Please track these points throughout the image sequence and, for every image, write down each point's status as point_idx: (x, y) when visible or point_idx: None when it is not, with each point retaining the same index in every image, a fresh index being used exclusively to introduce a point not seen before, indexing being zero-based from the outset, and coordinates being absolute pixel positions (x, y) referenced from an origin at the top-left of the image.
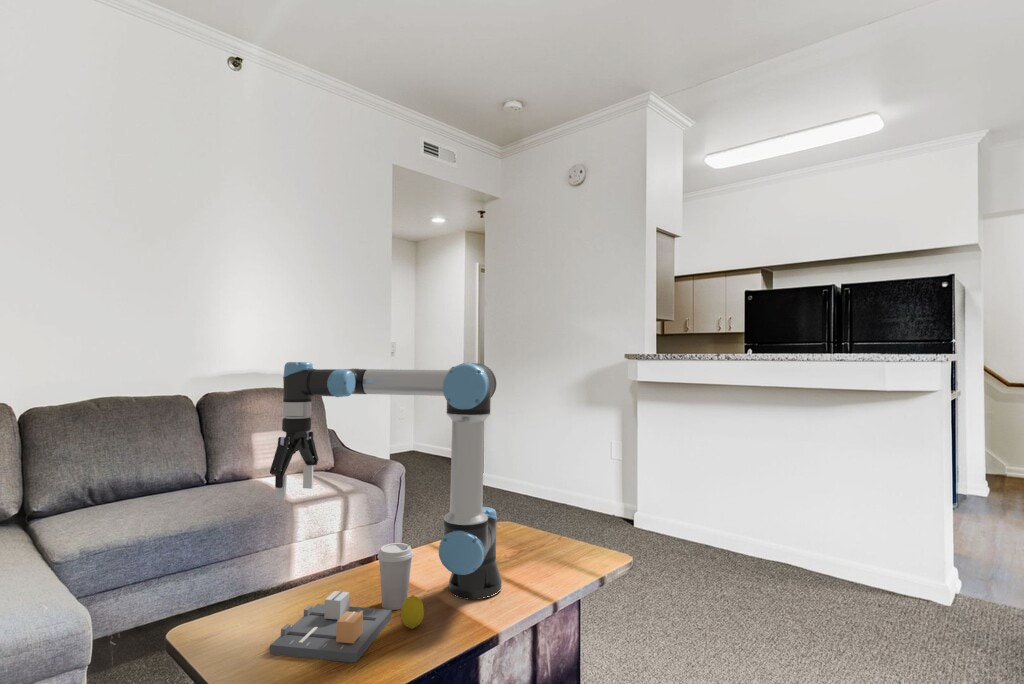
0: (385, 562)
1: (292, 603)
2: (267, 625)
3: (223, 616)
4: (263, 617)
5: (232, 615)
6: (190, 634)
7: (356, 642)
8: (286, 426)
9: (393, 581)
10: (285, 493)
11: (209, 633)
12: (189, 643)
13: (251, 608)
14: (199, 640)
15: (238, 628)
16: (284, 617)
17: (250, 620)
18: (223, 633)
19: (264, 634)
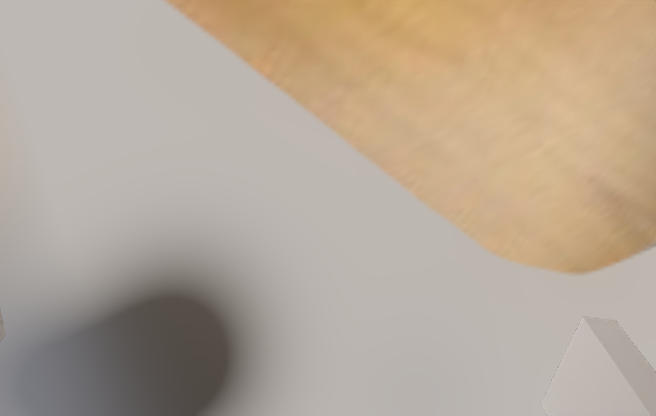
0: None
1: (392, 45)
2: (562, 58)
3: (481, 218)
4: (499, 98)
5: (476, 197)
6: (585, 246)
7: None
8: None
9: None
10: (640, 374)
11: (588, 203)
12: (640, 223)
13: (429, 166)
14: (627, 208)
15: (569, 140)
16: (506, 24)
17: (517, 129)
18: (595, 167)
19: (629, 37)
